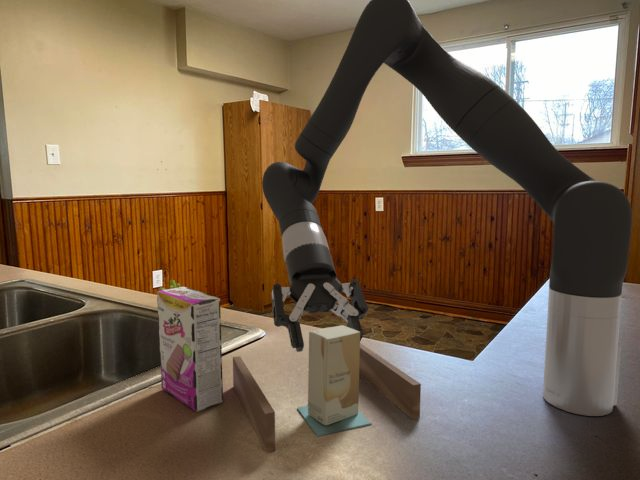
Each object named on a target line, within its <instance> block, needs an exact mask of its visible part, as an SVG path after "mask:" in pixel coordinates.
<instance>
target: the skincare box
mask: <svg viewBox="0 0 640 480" xmlns="http://www.w3.org/2000/svg"><path fill="white" fill-rule="evenodd" d="M360 343H361V341H360V332H359V331H357V330H354V329H351V328H349V327H347V325H343V324H340V325H336V326H329V327H324V328H320V329H315V330H310V331H308V375H307V376H308V380H307V382H308V383H307V384H308V386H307V387H308V388H307V406H308V414H309V415H310V416H312V417H313V418H314V419H316V420H317V421H319V422H320V423H322V424H323V425H329V424H332V423H335V422H338V421H340V420H343V419H346V418H348V417H351V416H354V415H356V414H358V410H359V402H360V401H359V399H360V398H359V393H360V375H359V361H360Z"/></svg>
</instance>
